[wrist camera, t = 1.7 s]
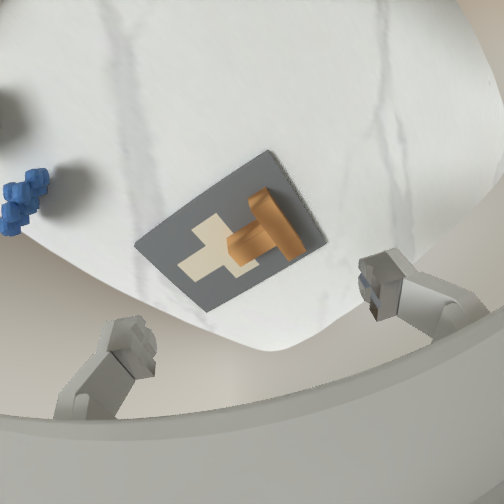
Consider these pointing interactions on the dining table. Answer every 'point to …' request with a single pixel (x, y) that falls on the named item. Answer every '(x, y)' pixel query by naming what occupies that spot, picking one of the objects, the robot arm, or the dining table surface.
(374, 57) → the dining table surface
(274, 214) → the t block
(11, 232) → the blue lumpy cluster
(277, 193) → the push board
